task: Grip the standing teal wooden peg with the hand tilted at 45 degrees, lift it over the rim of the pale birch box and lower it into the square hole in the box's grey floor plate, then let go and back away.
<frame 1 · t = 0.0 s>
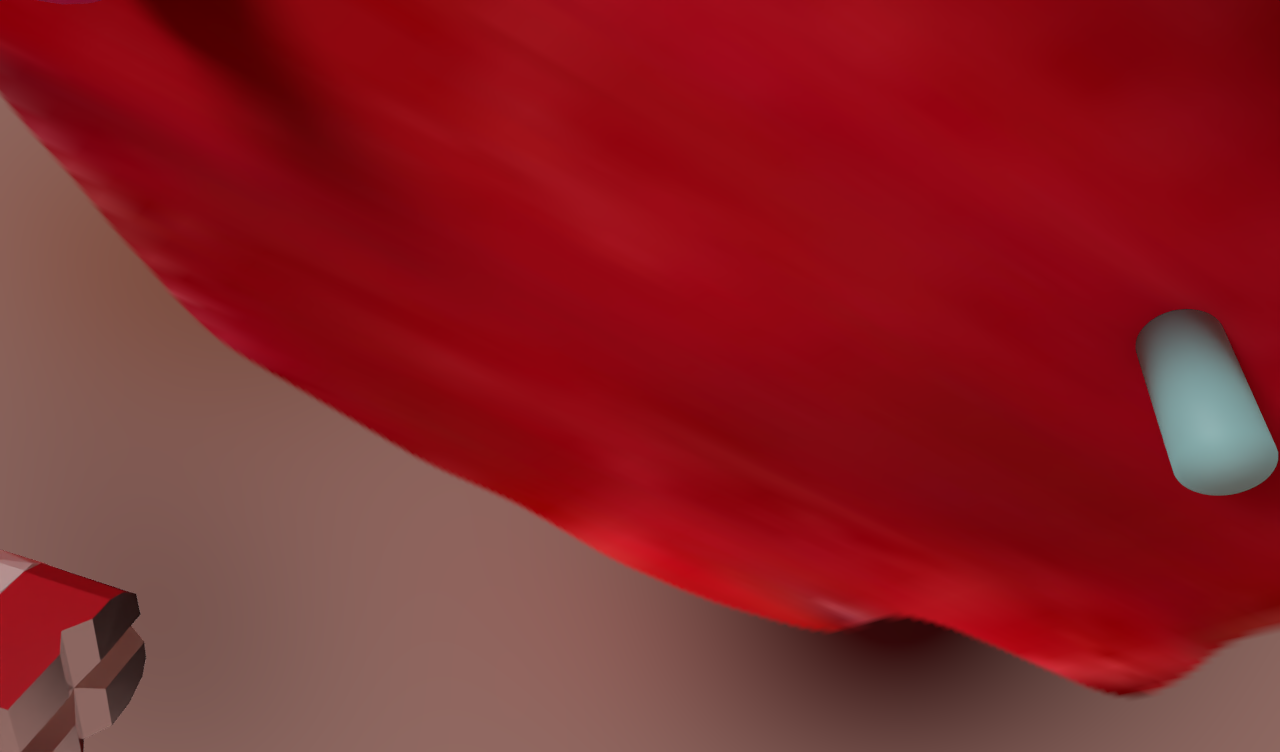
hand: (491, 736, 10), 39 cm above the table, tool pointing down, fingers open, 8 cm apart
peg: (1179, 342, 48), on the table
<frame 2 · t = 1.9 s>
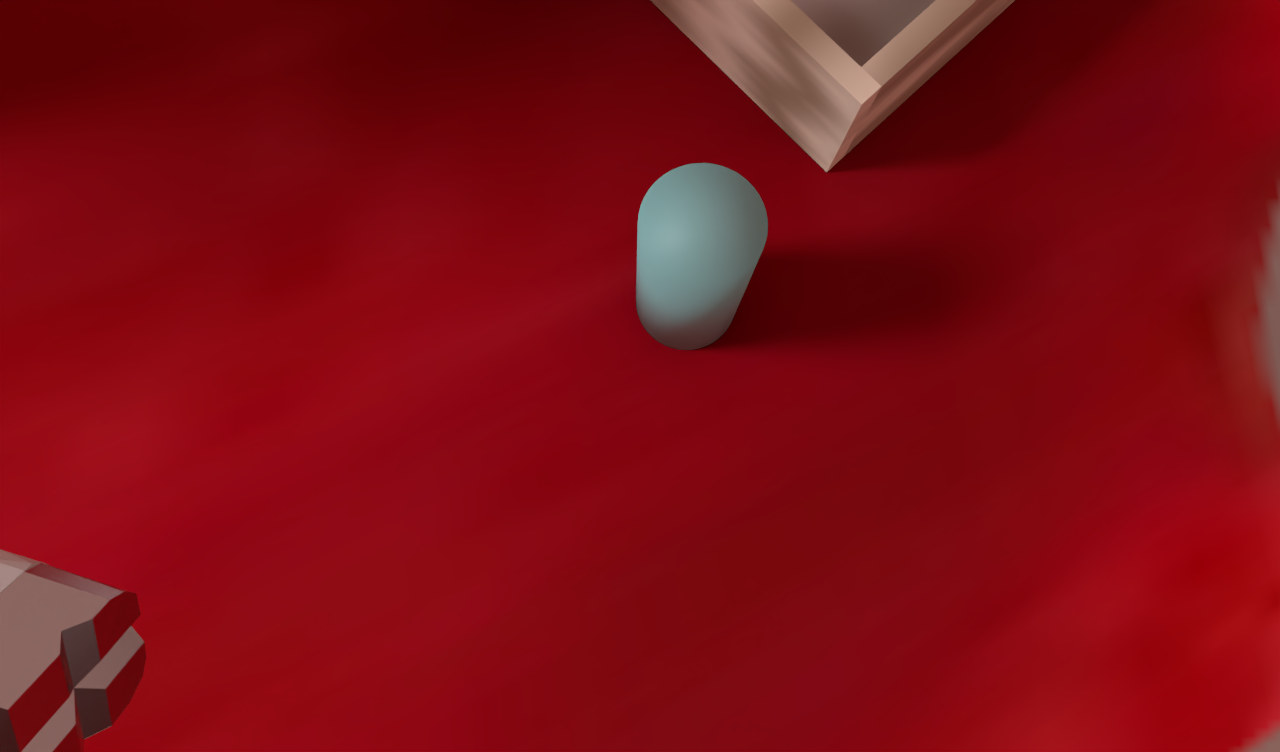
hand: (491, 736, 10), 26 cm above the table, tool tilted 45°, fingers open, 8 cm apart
peg: (685, 301, 38), on the table
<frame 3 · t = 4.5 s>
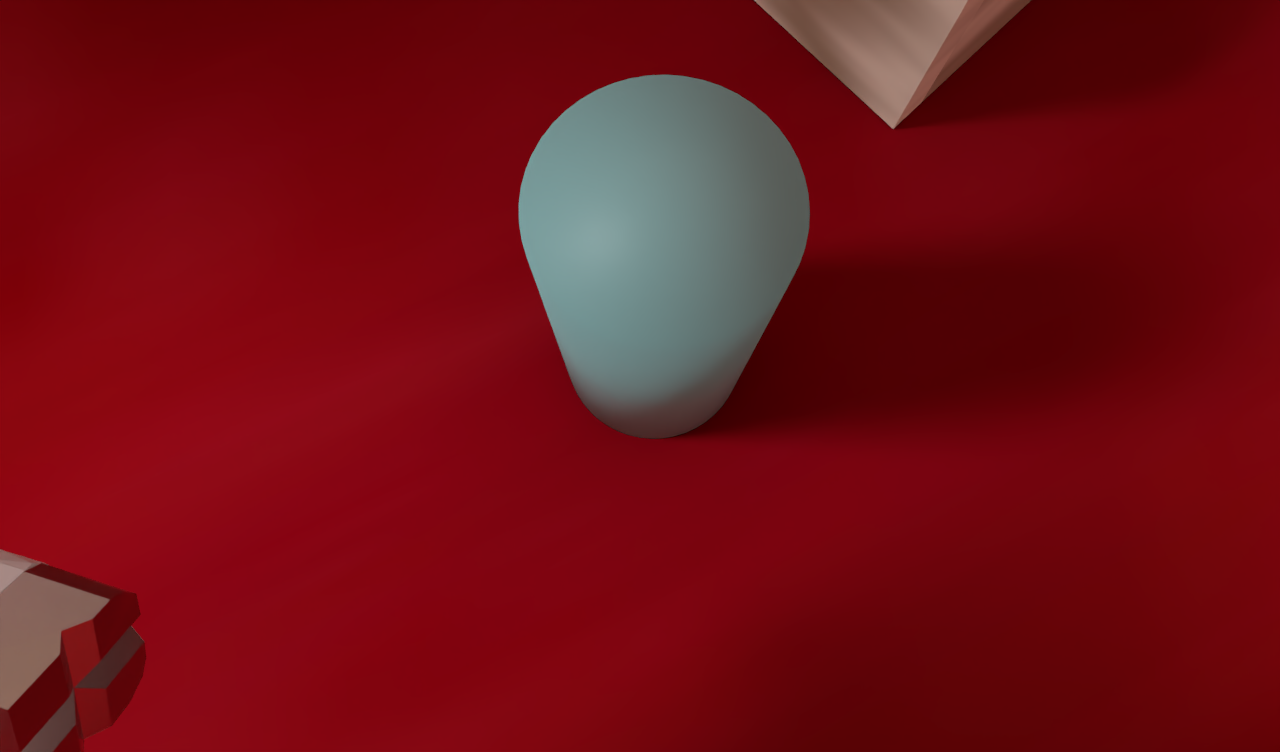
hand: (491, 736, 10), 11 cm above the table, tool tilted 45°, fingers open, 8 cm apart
peg: (653, 352, 22), on the table
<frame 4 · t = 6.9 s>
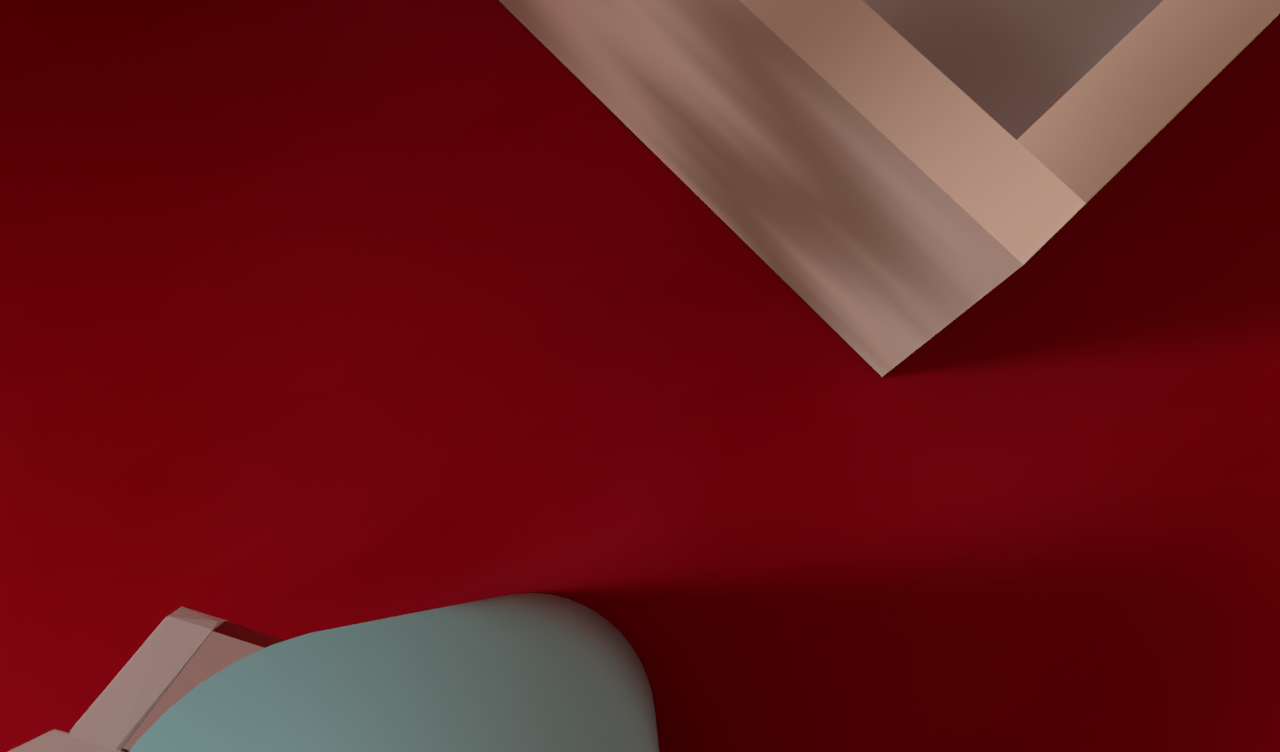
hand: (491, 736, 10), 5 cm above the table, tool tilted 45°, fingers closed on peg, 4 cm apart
peg: (527, 724, 15), on the table, touching gripper
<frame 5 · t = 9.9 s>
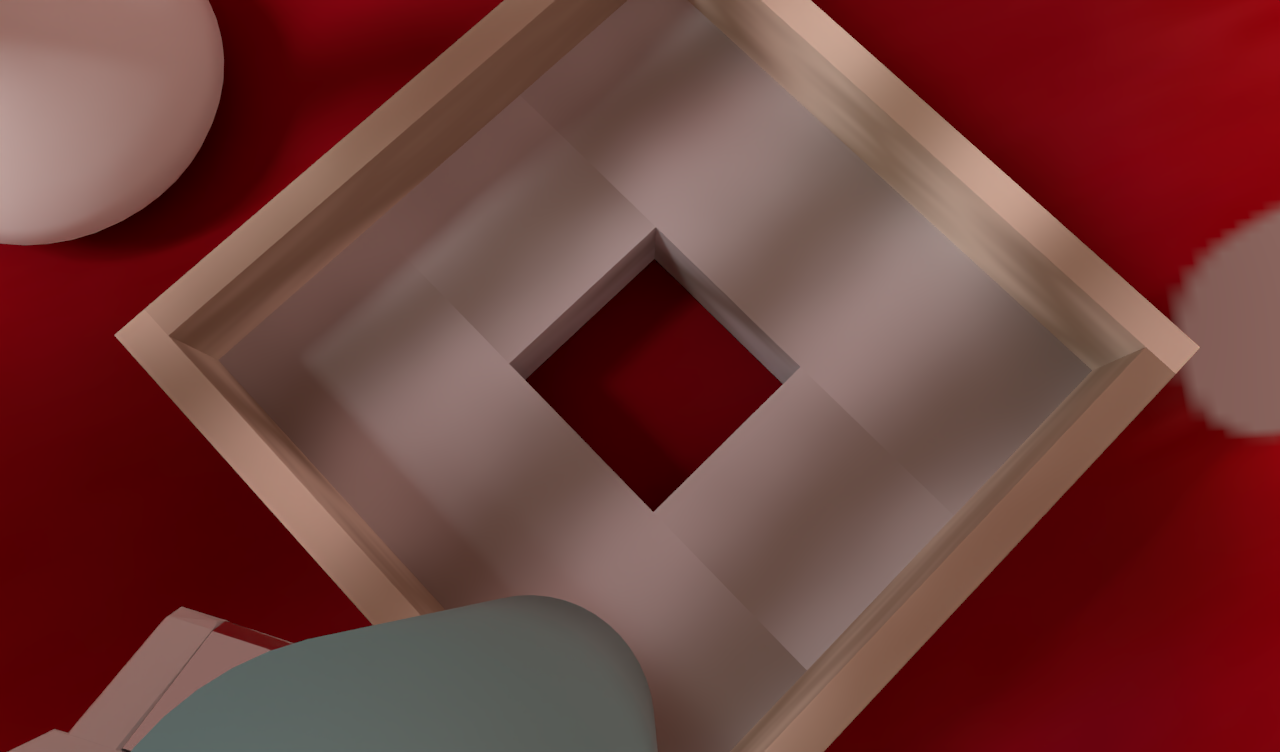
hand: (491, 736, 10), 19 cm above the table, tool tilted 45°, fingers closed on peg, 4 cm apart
bore box: (653, 384, 31), on the table
flower in vase: (101, 117, 33), on the table
peg: (526, 726, 15), point 15 cm above the table, touching gripper
when the fingers open (7 cm above the table, at t = 12.8 s): peg drops 2 cm, resting in bore box.
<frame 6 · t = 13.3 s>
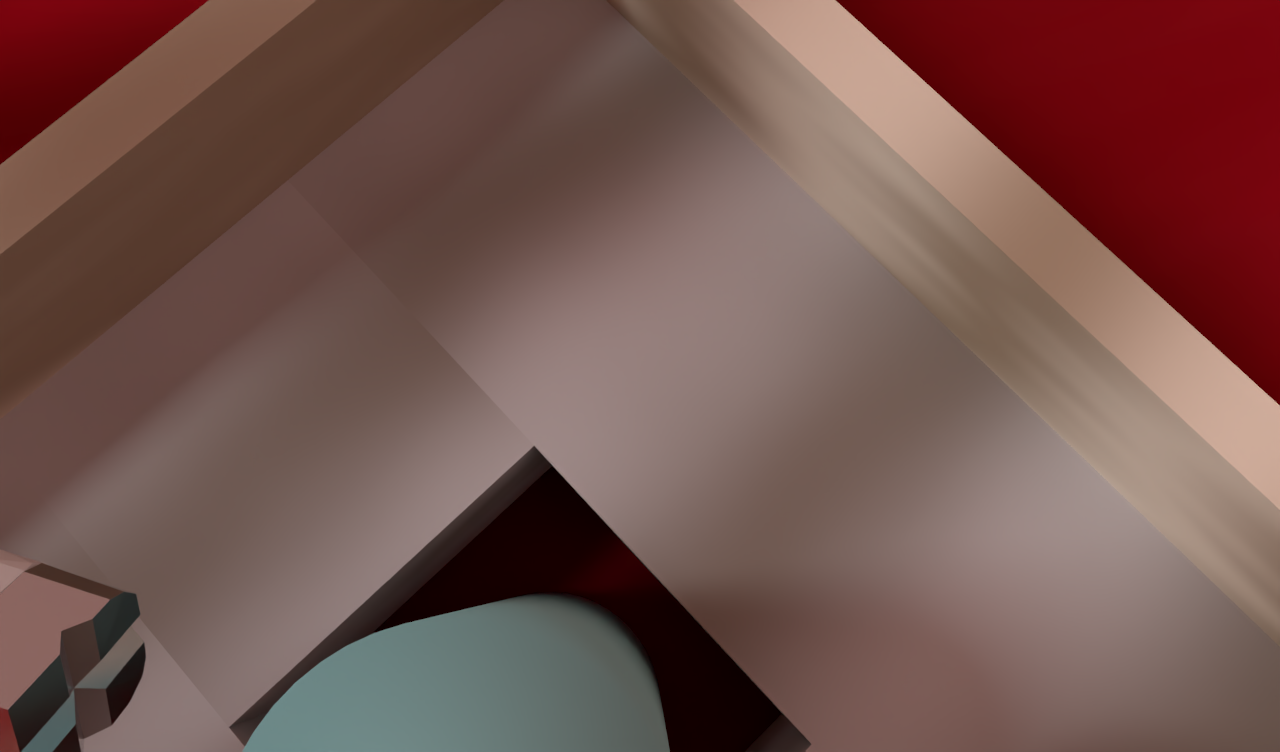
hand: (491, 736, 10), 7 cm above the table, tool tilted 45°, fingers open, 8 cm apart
bore box: (541, 706, 17), on the table
peg: (547, 708, 17), resting in bore box
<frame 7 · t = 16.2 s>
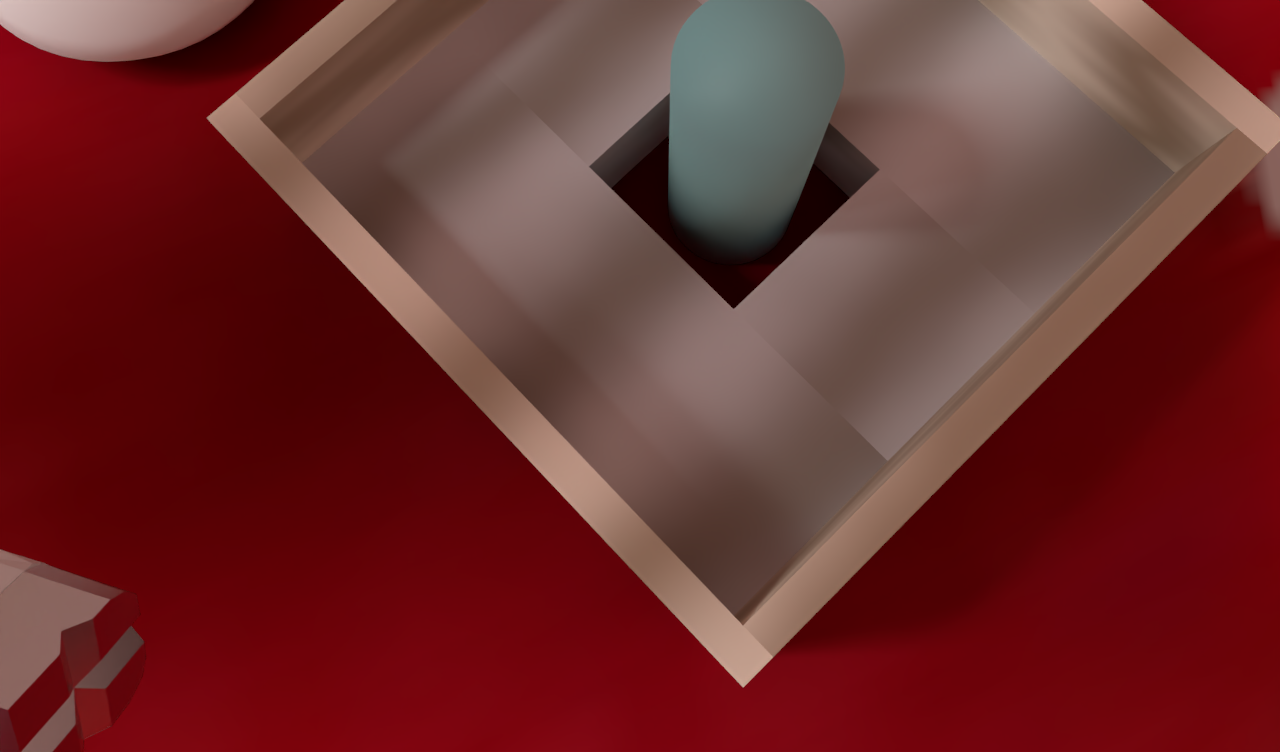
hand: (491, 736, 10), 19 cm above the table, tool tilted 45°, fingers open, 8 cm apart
bore box: (726, 204, 31), on the table
peg: (729, 205, 31), resting in bore box
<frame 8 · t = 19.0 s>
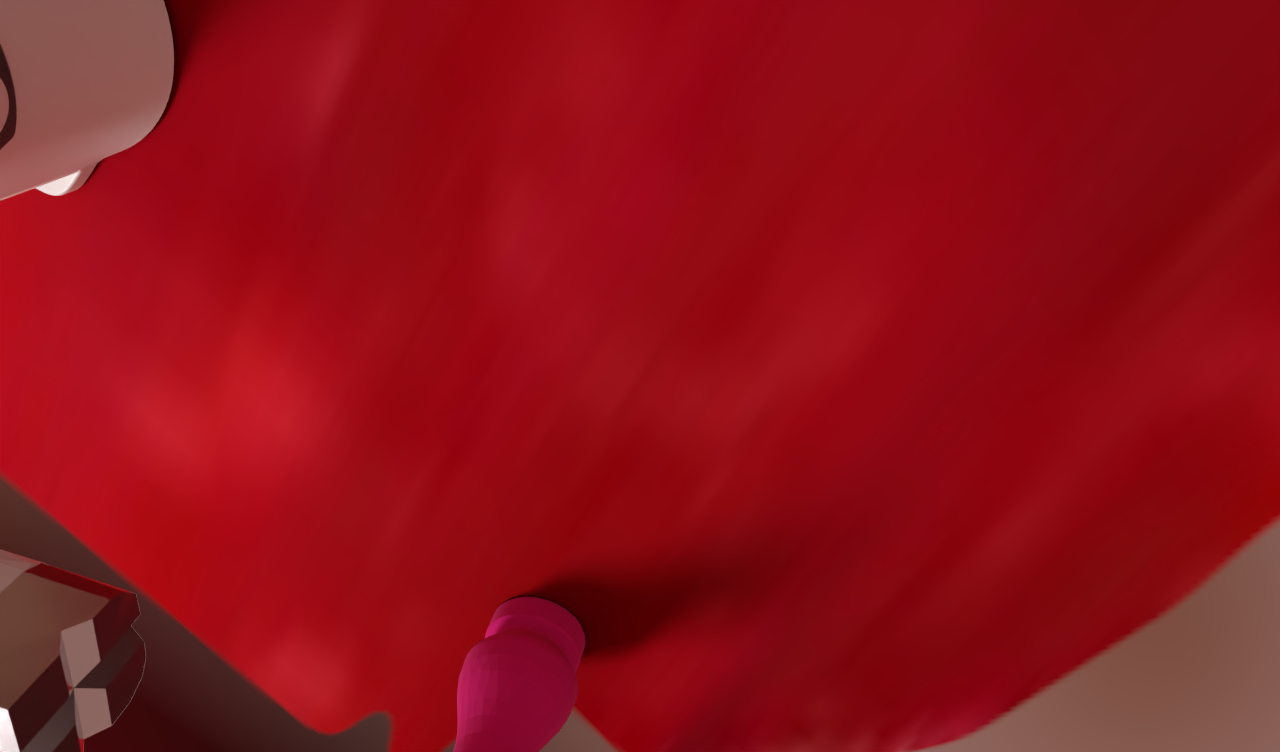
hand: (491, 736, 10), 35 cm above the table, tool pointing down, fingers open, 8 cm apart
pepper mill: (540, 628, 62), on the table
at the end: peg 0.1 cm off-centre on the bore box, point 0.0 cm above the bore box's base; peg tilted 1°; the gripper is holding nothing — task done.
